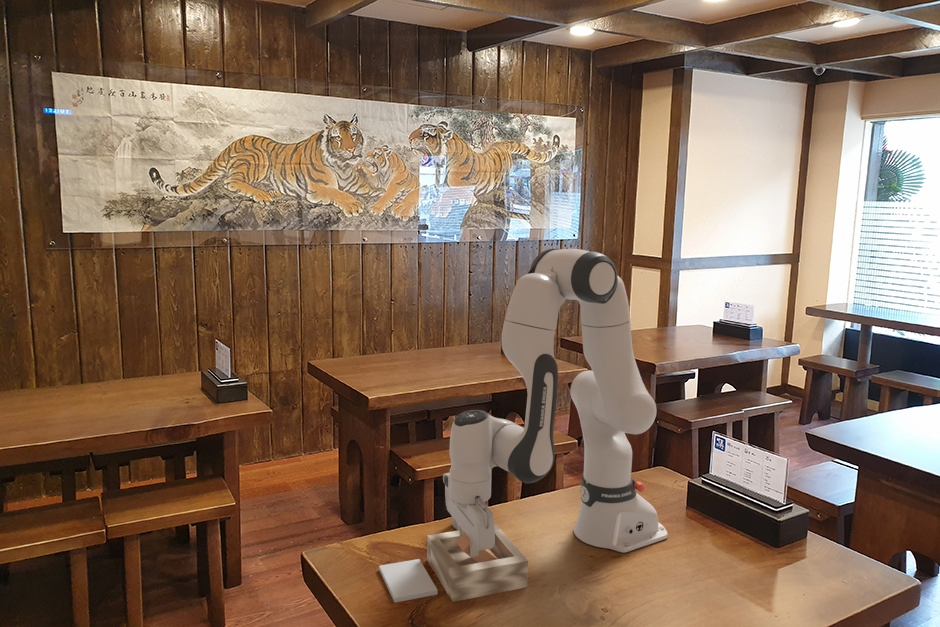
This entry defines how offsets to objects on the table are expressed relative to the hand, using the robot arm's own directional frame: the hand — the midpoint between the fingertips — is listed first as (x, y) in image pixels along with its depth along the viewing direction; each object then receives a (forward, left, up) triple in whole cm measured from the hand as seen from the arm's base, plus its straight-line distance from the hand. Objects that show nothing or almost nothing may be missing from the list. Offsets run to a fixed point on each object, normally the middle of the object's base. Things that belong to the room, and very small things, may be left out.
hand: (468, 548), depth 152 cm
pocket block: (-1, 0, -6) cm, 6 cm away
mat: (+13, -1, -6) cm, 14 cm away
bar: (-2, 0, -2) cm, 3 cm away
